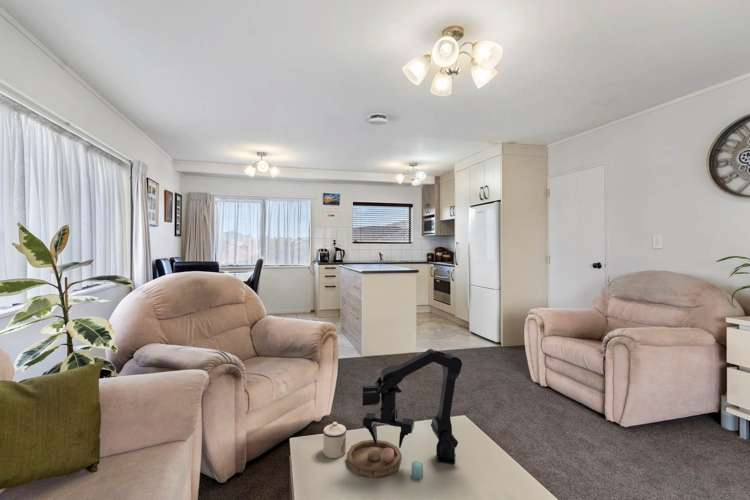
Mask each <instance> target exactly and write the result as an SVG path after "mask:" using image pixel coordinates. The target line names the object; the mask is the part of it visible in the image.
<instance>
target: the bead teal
mask: <svg viewBox="0 0 750 500" xmlns="http://www.w3.org/2000/svg"><path fill="white" fill-rule="evenodd" d="M423 472H424V464H423V462H421V461H418V460H415V461H414V460H413V461H412V462H411V474H410V475H411V478H413V479H414V480H421V479H423V478H424V473H423Z"/></svg>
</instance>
